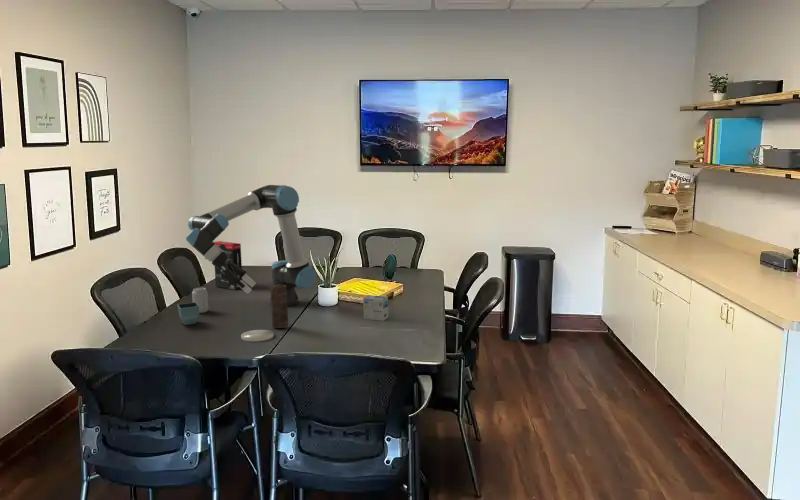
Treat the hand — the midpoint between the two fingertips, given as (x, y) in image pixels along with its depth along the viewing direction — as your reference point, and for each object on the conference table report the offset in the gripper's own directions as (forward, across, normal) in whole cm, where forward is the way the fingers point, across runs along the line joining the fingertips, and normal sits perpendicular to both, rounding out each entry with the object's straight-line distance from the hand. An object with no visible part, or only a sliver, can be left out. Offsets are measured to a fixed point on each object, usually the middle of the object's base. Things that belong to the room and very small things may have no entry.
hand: (252, 288), depth 297 cm
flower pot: (-9, -13, -36) cm, 39 cm away
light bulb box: (+54, -13, +26) cm, 61 cm away
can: (-8, -35, -36) cm, 51 cm away
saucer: (+16, +12, -11) cm, 23 cm away
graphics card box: (-5, -90, -32) cm, 95 cm away
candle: (+22, -1, -5) cm, 23 cm away
